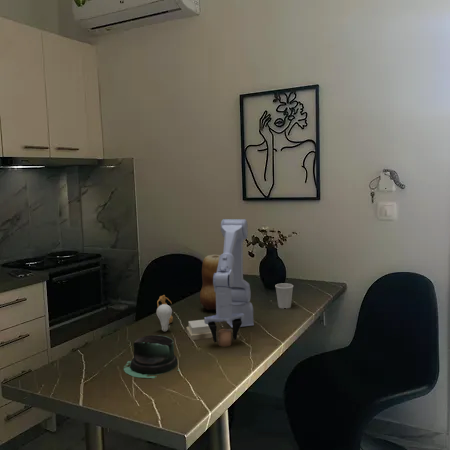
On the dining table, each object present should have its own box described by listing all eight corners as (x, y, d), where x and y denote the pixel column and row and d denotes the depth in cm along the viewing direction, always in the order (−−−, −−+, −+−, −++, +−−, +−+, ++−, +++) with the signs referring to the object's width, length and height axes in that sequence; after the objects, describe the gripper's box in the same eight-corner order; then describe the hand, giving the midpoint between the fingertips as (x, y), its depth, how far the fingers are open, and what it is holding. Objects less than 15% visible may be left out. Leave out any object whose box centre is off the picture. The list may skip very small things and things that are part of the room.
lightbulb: (175, 329, 190) (174, 302, 189) (168, 334, 184) (167, 307, 183) (161, 328, 192) (160, 301, 191) (154, 333, 186) (153, 306, 185)
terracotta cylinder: (229, 341, 176) (229, 328, 176) (233, 345, 172) (232, 332, 171) (217, 342, 175) (216, 329, 174) (220, 347, 170) (219, 333, 170)
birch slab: (210, 330, 190) (210, 324, 190) (217, 338, 181) (216, 332, 180) (186, 333, 188) (186, 326, 187) (191, 341, 178) (191, 335, 178)
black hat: (189, 354, 165) (188, 329, 164) (175, 380, 145) (174, 351, 144) (135, 353, 168) (134, 327, 167) (114, 378, 148) (112, 349, 147)
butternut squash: (220, 315, 206) (218, 259, 203) (194, 311, 213) (192, 257, 209) (235, 307, 218) (234, 253, 215) (210, 303, 225) (209, 251, 221)
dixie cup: (294, 309, 212) (294, 287, 211) (276, 309, 213) (275, 287, 211) (292, 303, 221) (292, 282, 219) (274, 304, 221) (274, 283, 220)
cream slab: (208, 325, 189) (208, 319, 188) (212, 331, 181) (212, 325, 181) (188, 327, 187) (188, 321, 186) (192, 334, 179) (191, 327, 179)
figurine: (165, 327, 193) (163, 298, 192) (154, 324, 197) (152, 296, 195) (178, 321, 200) (177, 293, 199) (167, 318, 204) (166, 291, 202)
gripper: (206, 309, 166) (208, 346, 167) (246, 305, 169) (247, 341, 171) (202, 303, 172) (203, 339, 174) (240, 299, 176) (241, 335, 178)
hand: (224, 340), depth 173 cm, fingers open, 7 cm apart
